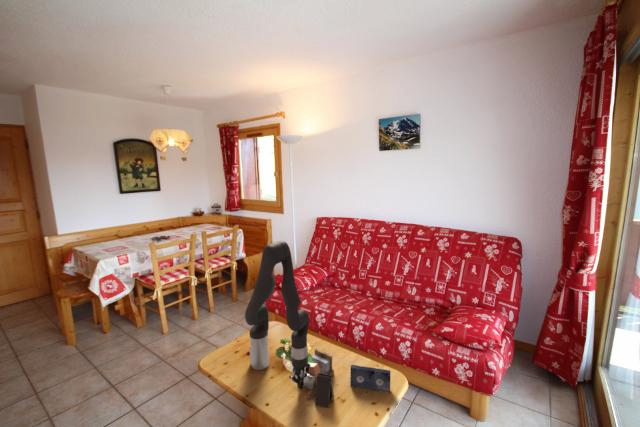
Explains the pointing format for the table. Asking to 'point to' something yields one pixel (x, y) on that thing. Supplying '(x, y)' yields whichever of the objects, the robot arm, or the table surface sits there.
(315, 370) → the book
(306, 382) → the grey flat box
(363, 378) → the vhs cassette tape
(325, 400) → the door stopper
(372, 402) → the table surface
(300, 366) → the robot arm
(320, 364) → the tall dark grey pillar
